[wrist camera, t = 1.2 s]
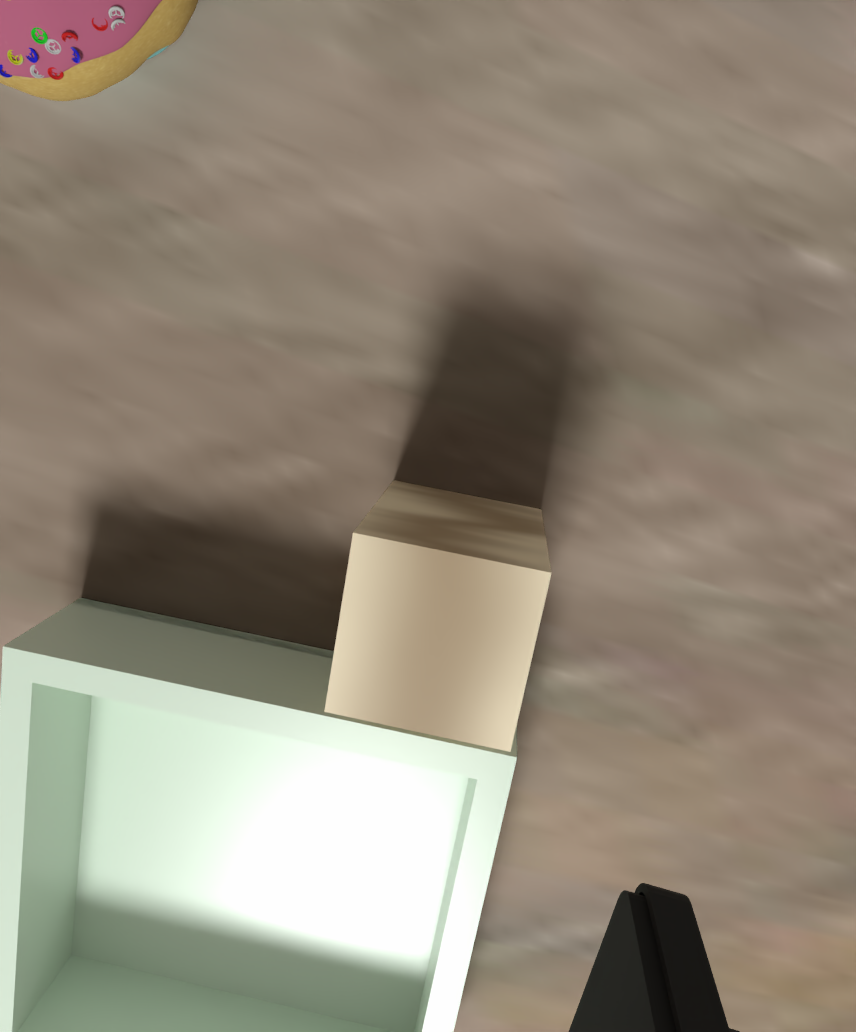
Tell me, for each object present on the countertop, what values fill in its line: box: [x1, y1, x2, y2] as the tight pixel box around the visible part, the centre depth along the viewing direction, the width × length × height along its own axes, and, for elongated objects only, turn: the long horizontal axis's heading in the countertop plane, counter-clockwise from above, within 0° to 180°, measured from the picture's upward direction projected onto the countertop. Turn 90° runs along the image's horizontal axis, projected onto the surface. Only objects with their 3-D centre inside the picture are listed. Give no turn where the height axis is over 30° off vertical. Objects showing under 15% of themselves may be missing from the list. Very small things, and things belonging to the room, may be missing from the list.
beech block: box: [324, 480, 551, 752], centre depth 23 cm, size 5×5×7 cm
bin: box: [0, 598, 517, 1032], centre depth 28 cm, size 16×16×4 cm
